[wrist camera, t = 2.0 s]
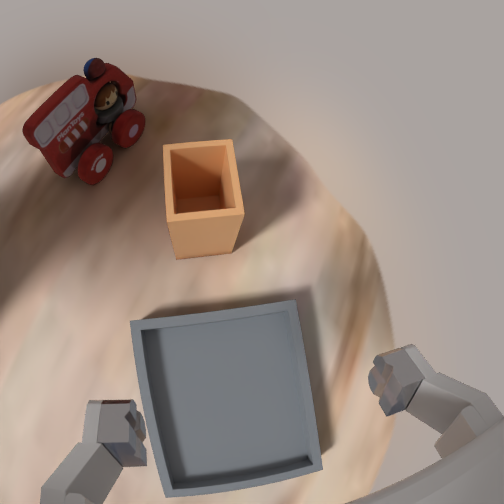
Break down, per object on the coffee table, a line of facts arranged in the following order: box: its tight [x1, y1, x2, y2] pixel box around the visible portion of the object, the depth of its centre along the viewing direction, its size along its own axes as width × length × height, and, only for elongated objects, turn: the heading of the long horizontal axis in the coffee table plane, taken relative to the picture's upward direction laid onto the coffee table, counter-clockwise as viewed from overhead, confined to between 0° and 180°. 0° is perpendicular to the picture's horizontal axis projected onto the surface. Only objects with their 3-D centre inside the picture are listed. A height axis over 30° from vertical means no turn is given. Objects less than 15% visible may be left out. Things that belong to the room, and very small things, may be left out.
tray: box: [130, 299, 323, 498], centre depth 24 cm, size 16×14×2 cm
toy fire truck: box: [22, 58, 145, 185], centre depth 25 cm, size 7×12×10 cm, turn 150°
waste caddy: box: [163, 139, 245, 260], centre depth 25 cm, size 6×5×9 cm
